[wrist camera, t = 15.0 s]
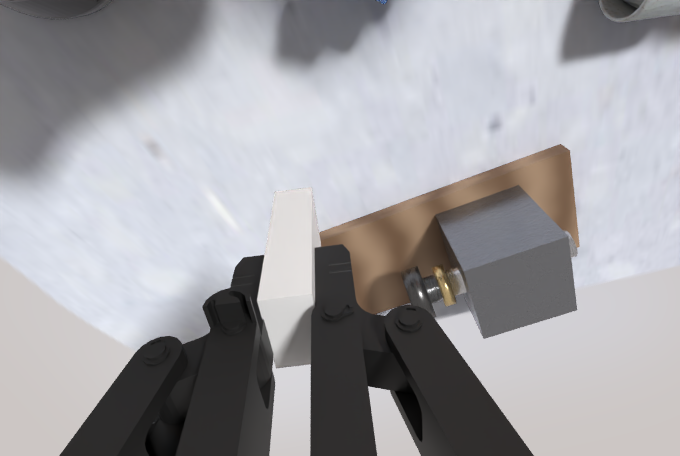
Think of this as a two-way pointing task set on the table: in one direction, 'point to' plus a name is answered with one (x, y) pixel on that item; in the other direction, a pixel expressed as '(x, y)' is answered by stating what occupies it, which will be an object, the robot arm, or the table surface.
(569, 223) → the base plate
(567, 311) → the bearing block
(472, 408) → the robot arm
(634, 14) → the ceramic mug
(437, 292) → the shaft
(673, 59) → the table surface
